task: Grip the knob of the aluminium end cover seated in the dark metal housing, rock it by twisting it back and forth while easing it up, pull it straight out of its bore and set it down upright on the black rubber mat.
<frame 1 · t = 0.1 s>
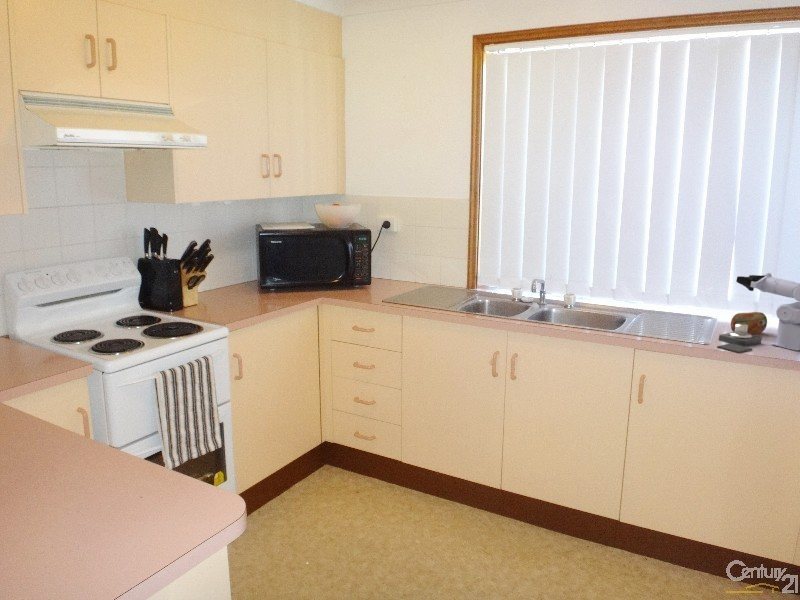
hand: (743, 278, 243), 22 cm above the countertop, tool horizontal, fingers open, 7 cm apart
orange patterned rounded block: (747, 334, 249), on the countertop
mat: (734, 348, 227), on the countertop
end cover: (740, 333, 236), in the housing
housing: (739, 341, 237), on the countertop
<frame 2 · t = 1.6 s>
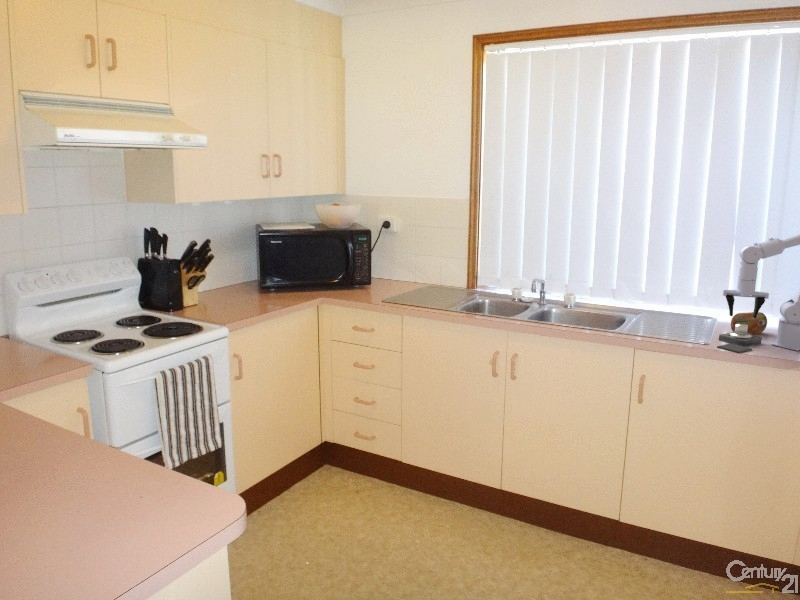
hand: (742, 316, 235), 9 cm above the countertop, tool pointing down, fingers open, 7 cm apart
nothing on the countertop moved.
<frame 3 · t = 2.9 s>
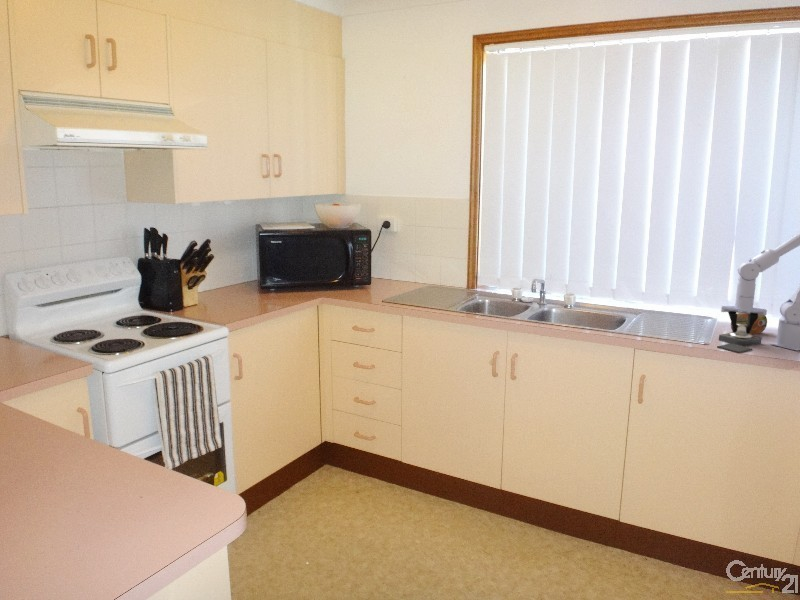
hand: (740, 332, 236), 3 cm above the countertop, tool pointing down, fingers closed on end cover, 4 cm apart
end cover: (740, 333, 236), in the housing, touching gripper
everything else where it was.
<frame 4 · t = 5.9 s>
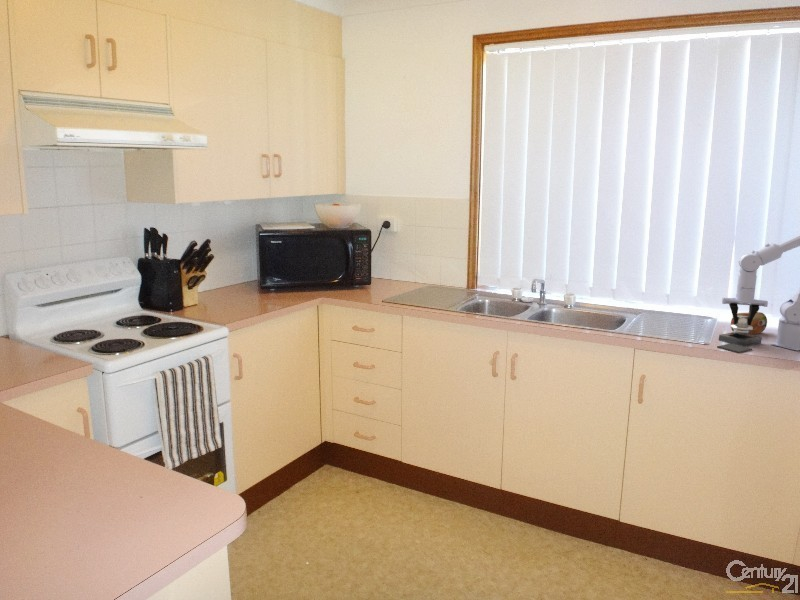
hand: (741, 324, 236), 6 cm above the countertop, tool pointing down, fingers closed on end cover, 4 cm apart
end cover: (741, 324, 236), point 6 cm above the countertop, touching gripper
everything else where it was.
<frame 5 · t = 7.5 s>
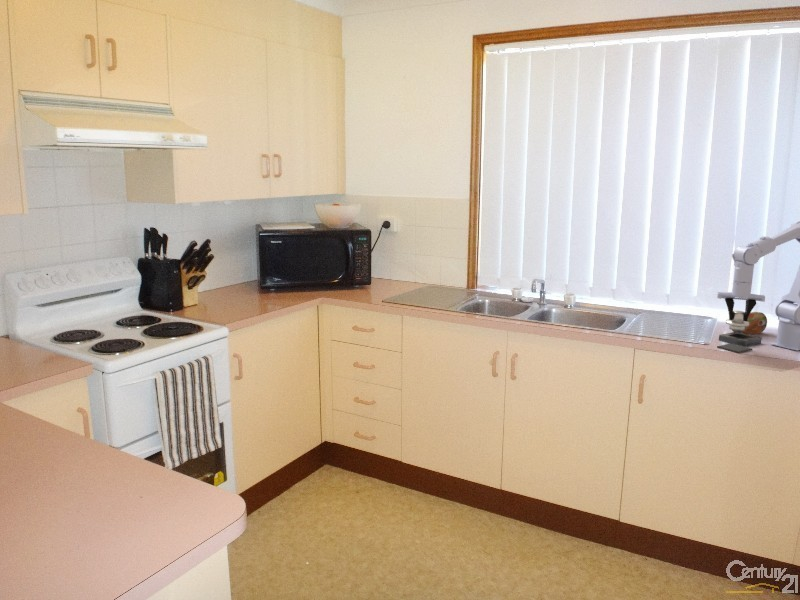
hand: (737, 320, 225), 10 cm above the countertop, tool pointing down, fingers closed on end cover, 4 cm apart
end cover: (737, 320, 226), point 10 cm above the countertop, touching gripper
everything else where it was.
when the fingers open (5 cm above the countertop, at t = 8.9 s): end cover drops 1 cm, resting on mat.
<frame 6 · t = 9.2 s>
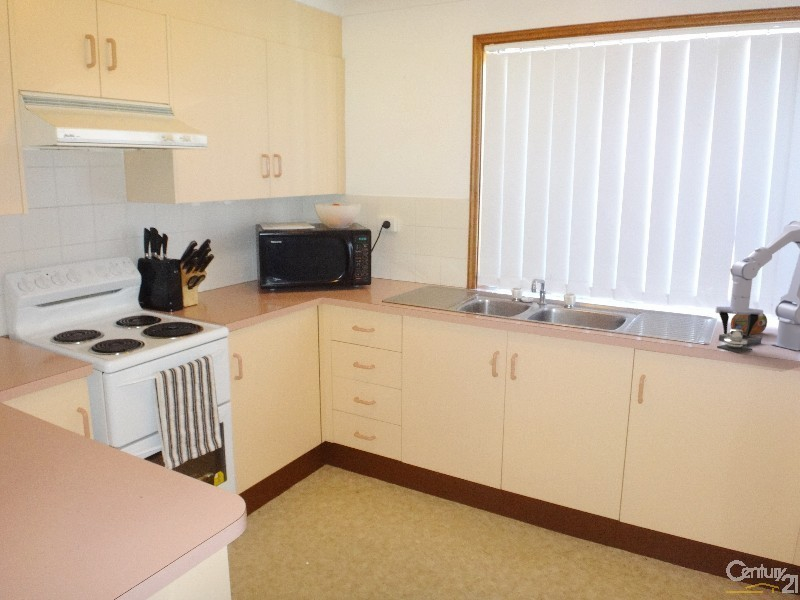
hand: (736, 334, 226), 5 cm above the countertop, tool pointing down, fingers open, 6 cm apart
end cover: (735, 338, 227), on the mat
everything else where it was.
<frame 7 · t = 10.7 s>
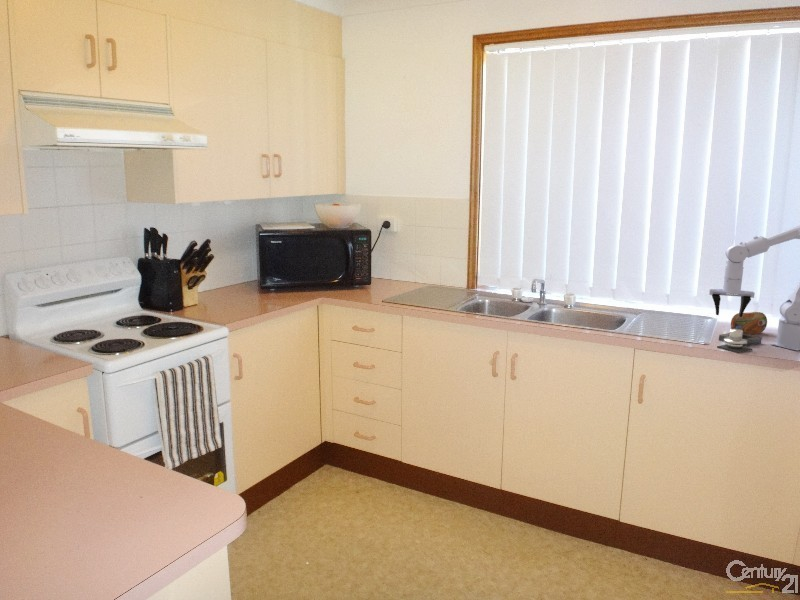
hand: (728, 315, 236), 9 cm above the countertop, tool pointing down, fingers open, 7 cm apart
nothing on the countertop moved.
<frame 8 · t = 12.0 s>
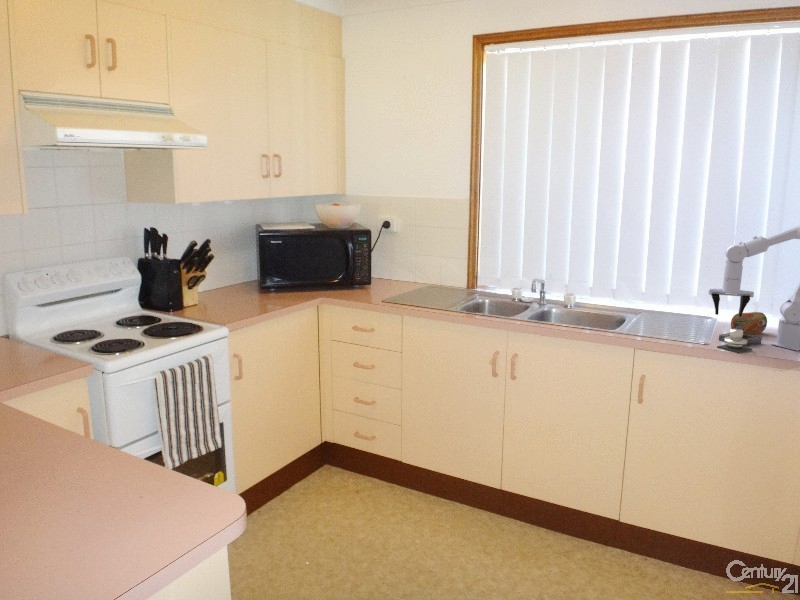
hand: (728, 315, 237), 9 cm above the countertop, tool pointing down, fingers open, 7 cm apart
nothing on the countertop moved.
at the end: end cover 0.4 cm off-centre on the mat, point 3.6 cm above the mat's base; end cover tilted 2°; the gripper is holding nothing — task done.
